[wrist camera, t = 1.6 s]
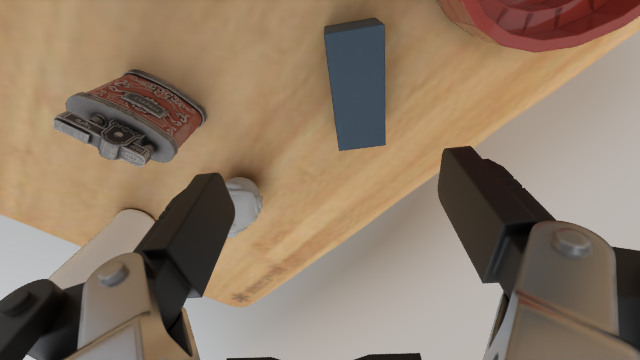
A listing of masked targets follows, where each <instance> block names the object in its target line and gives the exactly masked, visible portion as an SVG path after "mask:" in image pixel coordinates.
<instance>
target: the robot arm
mask: <svg viewBox="0 0 640 360" xmlns="http://www.w3.org/2000/svg"><path fill="white" fill-rule="evenodd" d="M438 195H439V199H440V202H441V204H442V206H443V208H444V210H445V212H446V214H447V216H448V218H449V219H450V221H451V223H452V225H453V227H454V229H455V231H456V233H457V234H458V237H459V239H460V241H461V242H462V244H463V246H464V248H465V250H466V252H467V254H468V256H469V258H470V259H471V262H472V263H473V265H474V267H475V269H476V271H477V273H478V275H479V277H480V279H481V281H482V283H500V285H501V287H502V289H503V290H504V291H503V294H502V296H501V299H500V302H499V306H498V309H497V313H496V317H495V320H494V324H493V327H492V330H491V334H490V337H489V341H488V344H487V348H486V351H485V354H484V358H483V360H640V251H637V250H630V249H624V248H617V247H611V246H610V245H609V244H608V243H607V242H606V241H605V240H604V239H603V238H601V237H600V236H599V235H597V234H596V233H594V232H592V231H590V230H588V229H586V228H584V227H581V226H579V225H576V224H573V223H569V222H564V221H556V220H555V219H554V217H553V216H552V215H550V213H548V211H547V210H546V209H545V208H544V207H543V206H542V205H541V204H540V203H539V202H538V201H537V200H536V199H535V198H534V197H533V196H532V195H531V194H530V193H529V192H528V191H527V190H526V189H525V188H522V185H521V184H520V183H519V182H518V181H517V180H516V179H514V178H513V176H512V175H511V174H510V173H509V172H508V171H507V170H506V169H505V168H504V167H503V166H501V165H499V164H497V163H495V162H493V161H491V160H489V159H482V158H481V157H480V156H479V155H478V154H477V153H476V151H475V150H474V149H473V148H472V147H471V146H464V147H454V148H446V149H444V151H443V154H442V160H441V167H440V174H439V181H438ZM234 219H235V206H234V203H233V201H232V198H231V196H230V194H229V191H228V189H227V187H226V185H225V182H224V180H223V178H222V176H221V175H220V174H219V173H208V174H199V175H196V176H195V177H194V178H193V180H192V181H191V183H190V184H189V185H188V187H187V188H186V189H184V190H183V191H182V192H181V193H179V194H178V195H177V196H176V197H174V198H173V199H172V200H171V202H170V203H169V204H168V206H167V207H166V208H165V211H163V212H162V214H161V215H160V216H159V220H156V222H155V223H154V224H153V226H152V227H151V228H150V230H149V231H148V232H147V234H146V235H145V236H144V237H143V239H142V240H141V241H140V243H139V244H138V245H137V247H136V248H135V249H134V251H133V252H130V253H124V254H121V255H118V256H116V257H114V258H112V259H110V260H108V261H107V262H105V263H103V264H102V265H101V266H99V267H98V268H97V269H96V270H95V271H94V272H93V273H92V274H91V275H90V276H89V278H88V279H87V281H86V282H84V283H81V284H78V285H75V286H72V287H69V288H66V289H63V290H62V289H61V288H60V287H59V286H57V285H56V284H55V283H54V282H52V281H51V280H49V279H41V280H37V281H33V282H31V283H28V284H26V285H24V286H22V287H20V288H18V289H17V290H15V291H13V292H12V293H10V294H9V295H8V296H6V297H5V298H3V299H2V300H1V301H0V360H23V358H24V357H25V355H29V356H31V357H33V358H34V359H36V360H200V358H199V354H198V350H197V347H196V343H195V340H194V336H193V333H192V329H191V326H190V322H189V319H188V315H187V312H186V309H185V308H184V307H183V305H184V303H185V301H186V298H199V297H202V296H203V293H204V291H205V289H206V286H207V284H208V282H209V279H210V277H211V274H212V272H213V270H214V267H215V265H216V262H217V260H218V258H219V255H220V253H221V250H222V248H223V246H224V243H225V241H226V238H227V236H228V234H229V231H230V229H231V227H232V224H233V222H234ZM227 360H279V359H276V358H272V357H265V358H264V357H262V358H227ZM355 360H421V356H420V353H412V354H411V353H409V354H375V355H374V354H372V355H367V356H364V357H361V358H358V359H355Z"/></svg>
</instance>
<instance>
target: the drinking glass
mask: <svg viewBox="0 0 640 360" xmlns="http://www.w3.org/2000/svg"><path fill="white" fill-rule="evenodd" d="M154 223H155V221H154V220H153V219H152V218H151V217H150V216H149V215H148V214H146V213H144V212H142V211H139V210H134V209H127V210H123V211H121V212H119V213H118V214H117V215H116V216H115V217H114V218H113V219H112V220H111V221H110V222H109V223H108V224H107V225H106V226H105V227H104V228H103V229H102V230H101V231H100V232H98V233H97V234H96V235H95V236H94V237H93V238H92V239H91V240H90V241H89V242H87V243H86V244H85V245H84V246H83V247H82V248H81V249H80V250H79V251H78V252H77V253H75V254H74V255H73V256H72V257H71V258H70V259H69V260H68V261H66V262H65V263H64V264H63V265H62V266H61V267H60V268H59V269H58V270H57V271H55V272H54V273H53V274H52V275H51V276H50V277H49V278H48V279H49V280H51V281H52V282H54V283H55V284H56V285H57V286H59V287H60V288H61V289H62V290H63V289H66V288H69V287H72V286H75V285H78V284H81V283H84V282H86V281H87V279H88V278H89V276H90V275H91V274H92V273H93V272H94V271H95V270H96V269H97V268H98V267H99V266H101V265H102V264H103V263H105V262H107V261H108V260H110V259H112V258H114V257H116V256H118V255H121V254H124V253H130V252H133V251H134V249H135V248H136V247H137V245H138V244H139V243H140V241H141V240H142V239H143V237H144V236H145V235H146V234H147V232H148V231H149V230H150V228H151V227H152V226H153V224H154Z"/></svg>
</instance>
